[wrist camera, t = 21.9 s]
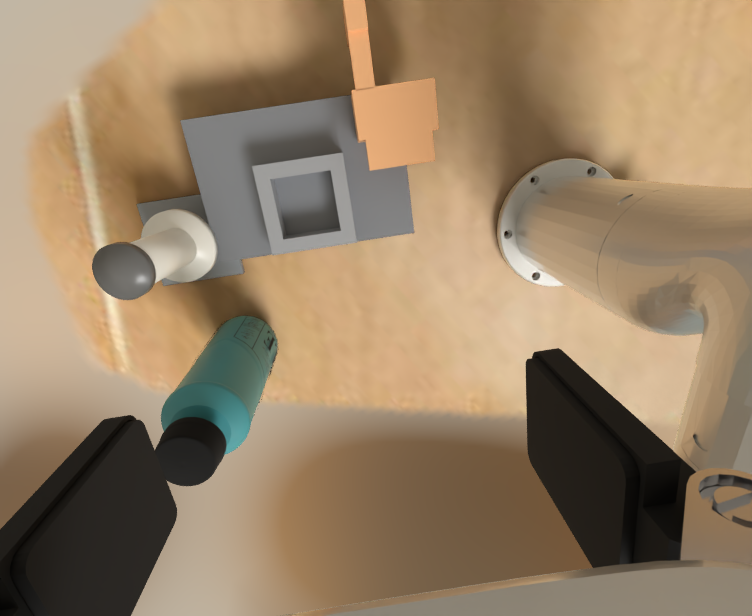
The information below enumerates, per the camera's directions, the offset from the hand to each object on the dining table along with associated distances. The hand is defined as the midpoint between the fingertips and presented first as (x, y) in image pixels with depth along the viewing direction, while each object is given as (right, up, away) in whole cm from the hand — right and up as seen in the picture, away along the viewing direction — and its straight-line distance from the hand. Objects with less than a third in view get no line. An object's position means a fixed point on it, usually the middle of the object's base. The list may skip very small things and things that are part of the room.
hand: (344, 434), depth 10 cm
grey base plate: (-6, +15, +30) cm, 34 cm away
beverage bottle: (-12, 0, +35) cm, 37 cm away
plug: (-17, +10, +30) cm, 36 cm away
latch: (+2, +21, +24) cm, 32 cm away
